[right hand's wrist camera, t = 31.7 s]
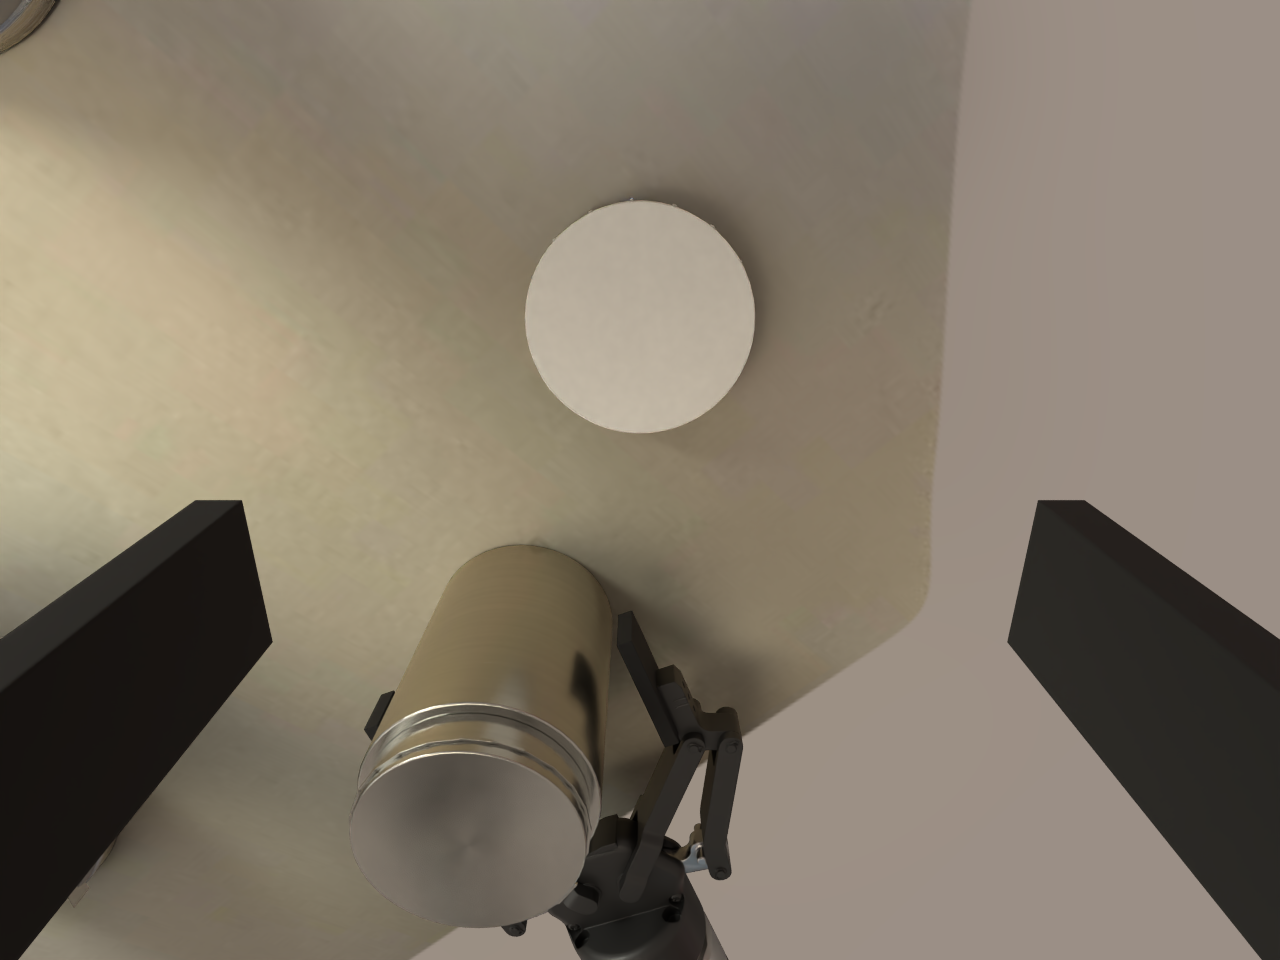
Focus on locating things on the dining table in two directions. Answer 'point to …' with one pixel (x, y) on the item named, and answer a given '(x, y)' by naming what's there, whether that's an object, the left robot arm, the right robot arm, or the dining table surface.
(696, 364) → the lid
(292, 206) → the dining table surface
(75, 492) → the dining table surface
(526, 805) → the jar
